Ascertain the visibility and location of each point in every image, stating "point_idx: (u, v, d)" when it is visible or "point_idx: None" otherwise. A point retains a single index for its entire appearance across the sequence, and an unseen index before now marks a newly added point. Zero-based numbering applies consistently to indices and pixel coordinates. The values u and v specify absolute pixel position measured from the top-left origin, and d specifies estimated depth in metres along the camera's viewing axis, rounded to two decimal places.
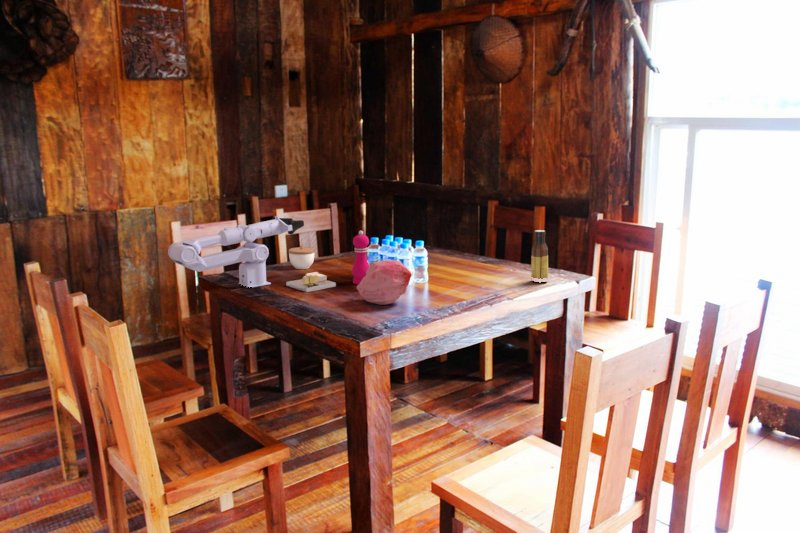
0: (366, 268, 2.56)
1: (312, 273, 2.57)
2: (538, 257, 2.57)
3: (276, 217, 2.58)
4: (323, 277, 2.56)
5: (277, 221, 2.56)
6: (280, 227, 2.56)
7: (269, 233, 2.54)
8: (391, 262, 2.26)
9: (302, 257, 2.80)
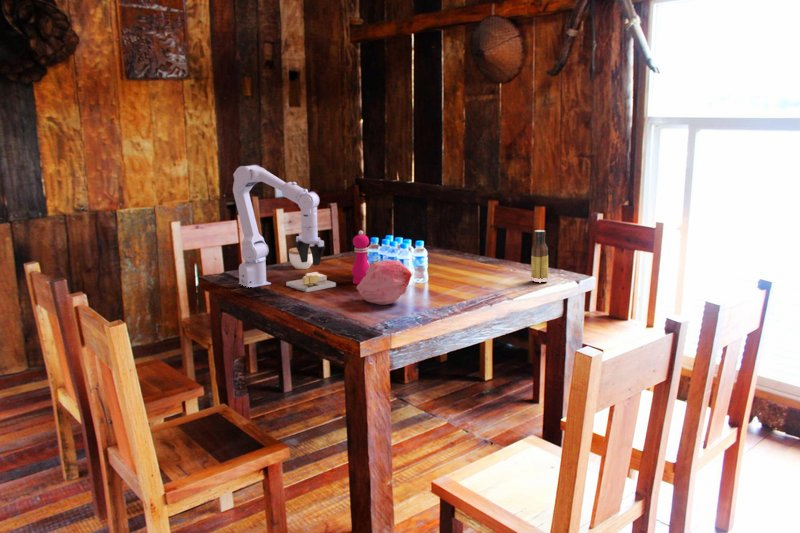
0: (366, 268, 2.56)
1: (312, 273, 2.57)
2: (538, 257, 2.57)
3: (317, 237, 2.48)
4: (323, 277, 2.56)
5: (317, 236, 2.46)
6: (314, 238, 2.44)
7: (302, 225, 2.43)
8: (391, 262, 2.26)
9: None
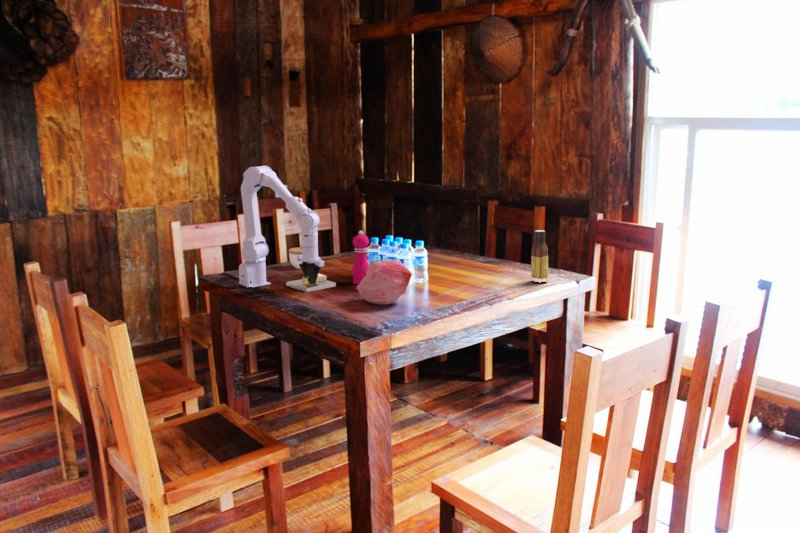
0: (366, 268, 2.56)
1: None
2: (538, 257, 2.57)
3: (318, 257, 2.50)
4: (323, 277, 2.56)
5: (317, 256, 2.47)
6: (314, 258, 2.45)
7: (303, 245, 2.44)
8: (391, 262, 2.26)
9: None
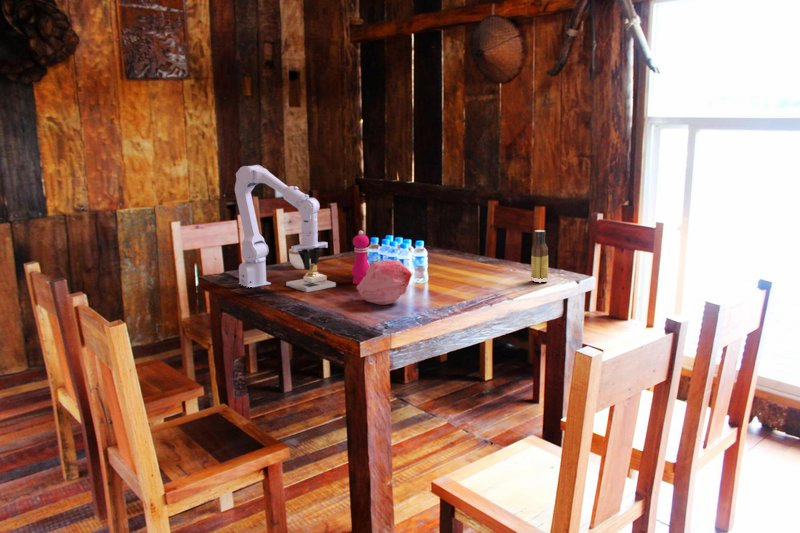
0: (366, 268, 2.56)
1: None
2: (538, 257, 2.57)
3: (315, 245, 2.44)
4: (323, 277, 2.56)
5: (309, 243, 2.43)
6: (303, 243, 2.44)
7: (302, 230, 2.43)
8: (391, 262, 2.26)
9: None
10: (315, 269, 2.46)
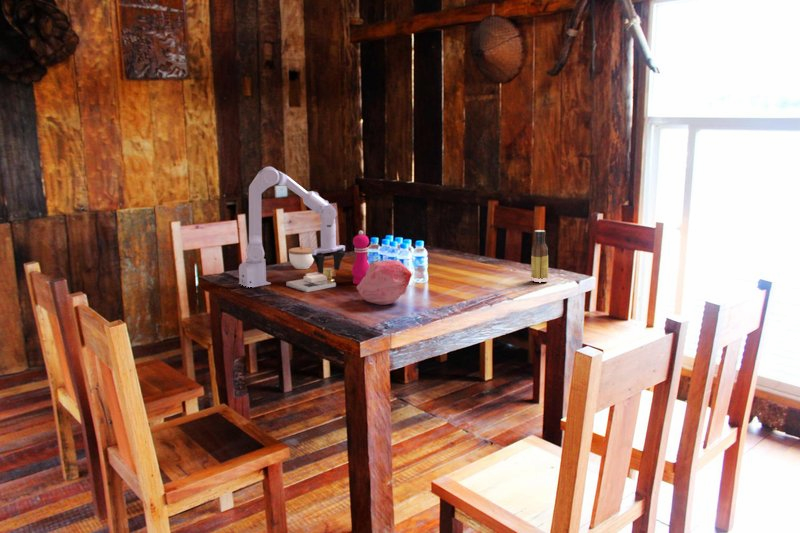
0: (366, 268, 2.56)
1: (312, 273, 2.57)
2: (538, 257, 2.57)
3: (333, 248, 2.58)
4: (323, 277, 2.56)
5: (328, 246, 2.57)
6: (322, 247, 2.58)
7: (325, 235, 2.57)
8: (391, 262, 2.26)
9: (302, 257, 2.80)
10: (334, 274, 2.60)
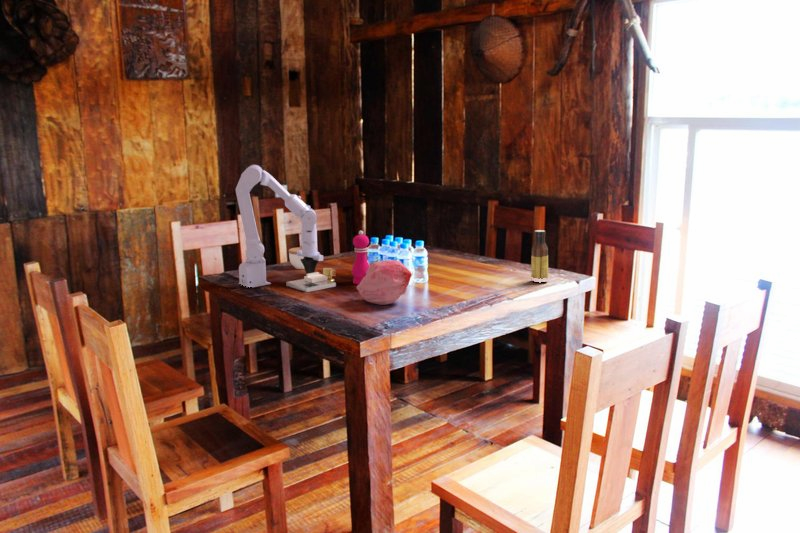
0: (366, 268, 2.56)
1: (313, 273, 2.57)
2: (538, 257, 2.57)
3: (317, 252, 2.59)
4: (324, 277, 2.56)
5: None
6: (314, 253, 2.55)
7: (305, 240, 2.53)
8: (391, 262, 2.26)
9: (302, 257, 2.80)
10: (334, 274, 2.60)
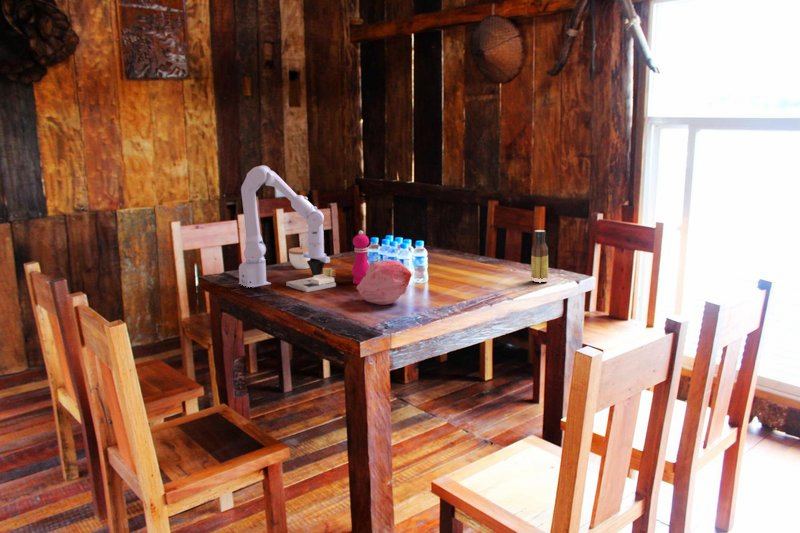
0: (366, 268, 2.56)
1: (319, 275, 2.54)
2: (538, 257, 2.57)
3: (323, 253, 2.56)
4: (330, 279, 2.52)
5: (323, 252, 2.54)
6: (320, 254, 2.52)
7: (311, 242, 2.50)
8: (391, 262, 2.26)
9: (302, 257, 2.80)
10: (334, 274, 2.60)
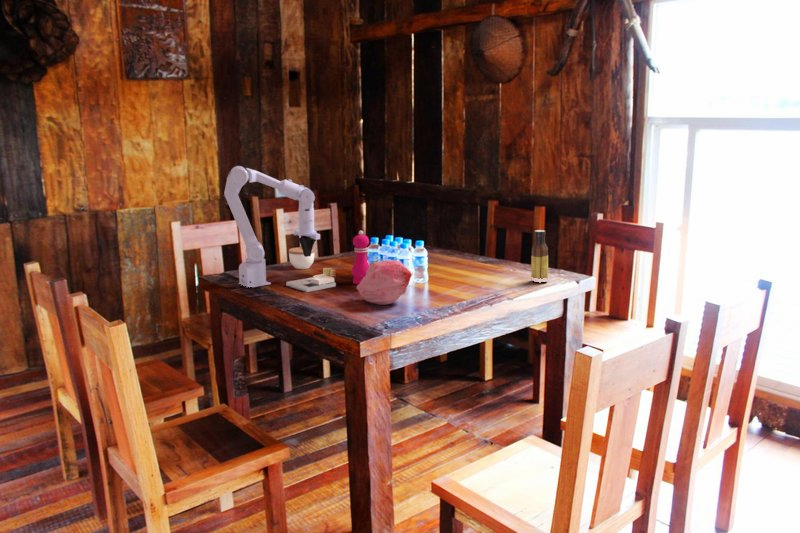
0: (366, 268, 2.56)
1: (319, 275, 2.54)
2: (538, 257, 2.57)
3: (314, 231, 2.59)
4: (330, 279, 2.52)
5: None
6: (311, 231, 2.55)
7: (303, 219, 2.54)
8: (391, 262, 2.26)
9: (302, 257, 2.80)
10: (334, 274, 2.60)
